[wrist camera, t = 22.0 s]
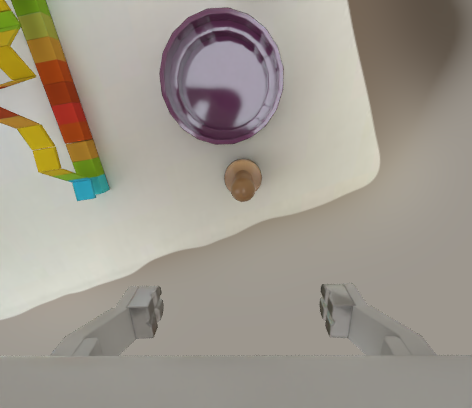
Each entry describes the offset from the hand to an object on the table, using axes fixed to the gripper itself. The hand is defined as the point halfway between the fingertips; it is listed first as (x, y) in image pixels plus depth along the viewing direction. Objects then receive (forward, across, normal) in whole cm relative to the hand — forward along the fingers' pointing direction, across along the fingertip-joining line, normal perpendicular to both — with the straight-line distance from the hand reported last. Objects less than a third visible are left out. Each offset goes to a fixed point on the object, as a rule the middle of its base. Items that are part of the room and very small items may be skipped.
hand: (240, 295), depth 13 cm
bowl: (+27, +2, -12) cm, 30 cm away
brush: (+27, 0, 0) cm, 27 cm away
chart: (+27, +24, -13) cm, 39 cm away
